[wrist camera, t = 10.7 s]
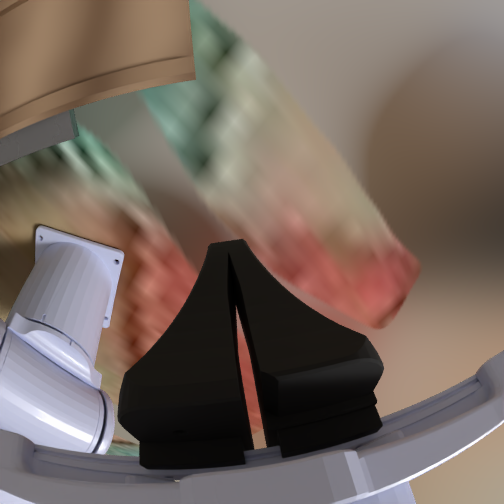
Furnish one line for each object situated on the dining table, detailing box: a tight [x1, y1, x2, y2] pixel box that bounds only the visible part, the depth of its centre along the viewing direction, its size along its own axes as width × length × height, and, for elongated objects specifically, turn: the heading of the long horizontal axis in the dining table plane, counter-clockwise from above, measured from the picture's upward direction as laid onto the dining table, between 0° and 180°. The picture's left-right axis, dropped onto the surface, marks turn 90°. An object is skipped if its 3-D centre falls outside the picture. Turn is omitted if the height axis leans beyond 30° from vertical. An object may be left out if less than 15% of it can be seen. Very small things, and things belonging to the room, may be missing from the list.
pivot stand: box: [0, 109, 79, 166], centre depth 11 cm, size 8×13×3 cm, turn 4°
